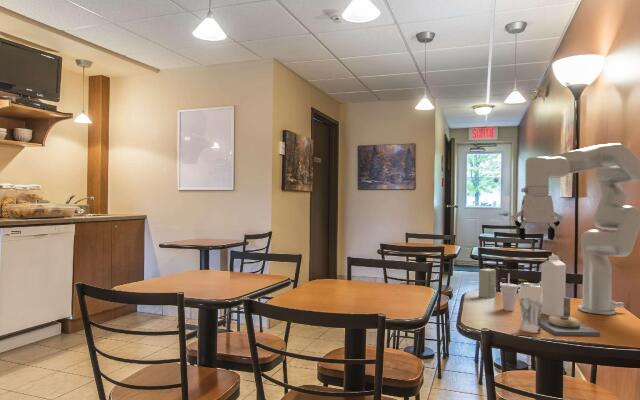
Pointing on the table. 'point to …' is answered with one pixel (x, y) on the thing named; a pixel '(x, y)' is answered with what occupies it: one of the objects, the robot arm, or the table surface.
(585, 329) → the board
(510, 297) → the smoothie
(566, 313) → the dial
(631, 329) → the table surface
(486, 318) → the table surface
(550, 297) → the milk
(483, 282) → the skincare box
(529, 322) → the beer glass
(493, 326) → the table surface
